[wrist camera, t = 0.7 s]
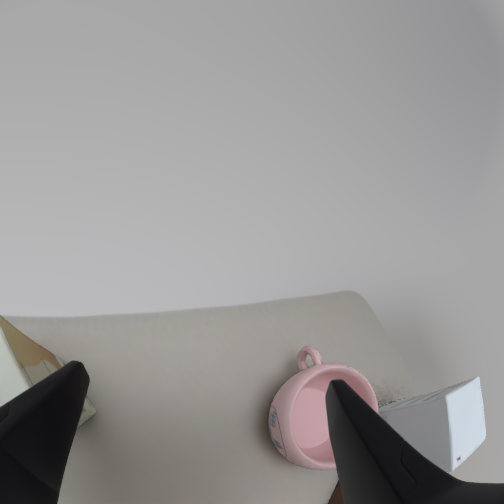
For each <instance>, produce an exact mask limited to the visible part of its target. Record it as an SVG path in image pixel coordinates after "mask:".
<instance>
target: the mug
mask: <svg viewBox="0 0 504 504" xmlns="http://www.w3.org/2000/svg"><path fill="white" fill-rule="evenodd" d="M307 354H309V355H310V356H311V357H312V360H313V362H314V366H312V367H310V368H309V367H308V366H307V364H306V362H305V359H306V356H307ZM298 365H299V368H300V370H301V371H300V372H298V373H297V374H295V375H294V376H292V377H291V378H290V379H289V380H288V381H287V382H285V383H284V384H283V385H282V386H281V388H280V389H279V391H278V392H277V393H276V395H275V397H274V399H273V401H272V404H271V407H270V412H269V431H270V436H271V439H272V441H273V443H274V445H275V447H276V448H277V449H278V451H279V452H280V453H281V454H282V455H283V456H284V457H285V458H286V459H288V460H289V461H291V462H292V463H294V464H296V465H299V466H301V467H304V468H307V469H314V470H330V469H337V468H336V464H335V459H334V455H333V451H332V446H331V442H330V437H329V430H328V420H327V411H326V402H325V395H326V392H327V389H328V386H329V383H330V381H331V380H335V379H342V380H344V381H345V382H346V383H347V384H348V385H349V386H350V387H351V388H352V389H353V390H354V391H355V392H356V393H357V394H358V395H359V396H360V397H361V398H362V399H363V400H364V401H365V402H366V403H367V404H368V405H369V406H370V407H371V408H372V409H373V410H374V411H376V412H377V413H378V414H379V410H378V402H377V398H376V394H375V392H374V390H373V388H372V386H371V384H370V383H369V382H368V380H367V379H366V378H365V377H364V376H363V375H362V374H361V373H360V372H358V371H356V370H355V369H353V368H352V367H349V366H346V365H343V364H335V363H327V364H323V363H322V361H321V356H320V354H319V352H318V350H317V349H316V348H314V347H310V346H306V347H304V348H302V349H301V350H300V352H299V354H298Z"/></svg>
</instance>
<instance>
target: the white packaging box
mask: <svg viewBox="0 0 504 504" xmlns="http://www.w3.org/2000/svg"><path fill="white" fill-rule="evenodd" d="M378 410H379V415H380V416H381V417H382V418H383V419H384V420H385V421H386V422H387V423H388V424H389V425H390V426H391V427H392V428H393V429H394V430H395V431H396V432H397V433H398V434H400V435H401V436H402V437H403V438H404V441H407V442H408V443H409V444H410V445H411V446H412V447H414V448H415V449H416V450H417V451H418V452H419V453H420V454H422V455H423V456H424V457H426V458H427V459H428V460H430V461H431V462H432V463H434V464H435V465H437V466H438V467H439V468H441V469H442V470H444V471H445V472H452V471H453V470H454V469H455V468H456V467H458V466H459V465H460V464H461V463H462V462H463V461H464V460H465V459H466V458H467V457H468V456H469V455H470V454H471V453H472V452H473V451H474V450H475V449H476V448H477V447H478V446H479V445H480V444H481V443H482V442H483V441H484V439H485V438H486V430H485V418H484V407H483V399H482V392H481V385H480V378H479V376H477V377H475V378H472V379H469V380H467V381H464V382H461V383H458V384H456V385H453V386H450V387H447V388H444V389H441V390H438V391H434V392H431V393H427V394H423V395H419V396H415V397H411V398H407V399H402V400H398V401H395V402H393V403H390V404H387V405H385V406H382V407H379V408H378Z"/></svg>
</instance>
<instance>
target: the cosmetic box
mask: <svg viewBox="0 0 504 504" xmlns="http://www.w3.org/2000/svg"><path fill="white" fill-rule="evenodd" d="M63 366H64V364H63V363H62V361H61V360H60V358H59V357H57V356H55V355H54V354H52V353H51V352H49V351H48V350H46V349H45V348H43V347H42V346H40V345H39V344H37V343H36V342H34V341H33V340H31V339H30V338H29V337H27V336H26V335H25V334H23V333H22V332H21V331H19V330H18V329H17V328H15V327H14V326H13V325H12V324H10V323H9V322H8V321H7V320H5V319H4V318H3V317H2V316H1V315H0V406H2V405H4V404H5V403H7V402H8V401H10V400H11V399H13V398H15V397H16V396H18V395H19V394H21V393H22V392H24V391H25V390H27V389H29V388H30V387H32V386H33V385H35V384H36V383H38V382H39V381H41V380H43V379H44V378H46V377H47V376H49V375H50V374H52V373H53V372H55V371H57V370H58V369H60V368H61V367H63ZM95 413H96V410H95V408H94V407H93V406H92V404H91V403H90V401H89V400H88V399H87V397H86V398H85V402H84V406H83V411H82V414H81V418H80V421H79V424H78V427H79V426H80V425H81V424H83V423H84V422H85V421H87V420H88V419H89V418H90V417H92V416H93V415H94V414H95Z"/></svg>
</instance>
